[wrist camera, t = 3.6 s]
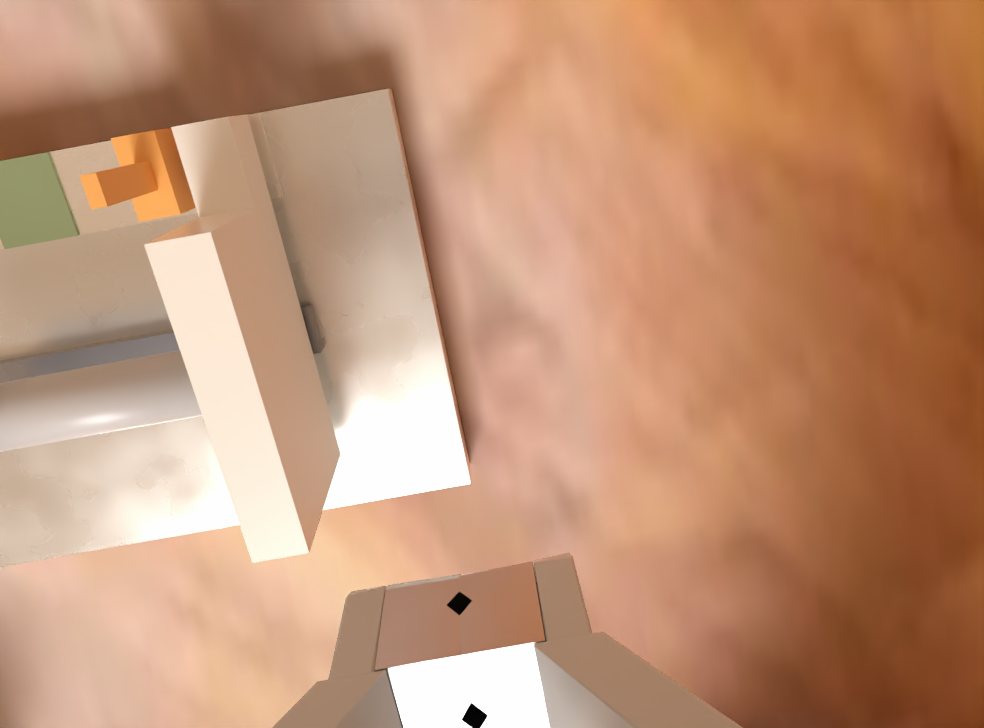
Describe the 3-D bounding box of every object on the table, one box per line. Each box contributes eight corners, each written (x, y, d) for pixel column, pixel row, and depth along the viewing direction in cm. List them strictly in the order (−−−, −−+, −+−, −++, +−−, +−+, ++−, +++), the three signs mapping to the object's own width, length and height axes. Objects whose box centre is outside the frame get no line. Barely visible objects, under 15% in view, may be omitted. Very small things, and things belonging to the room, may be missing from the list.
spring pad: (247, 114, 22) (176, 121, 17) (340, 453, 26) (309, 553, 21) (-104, 180, 22) (-292, 209, 17) (41, 507, 26) (-71, 620, 21)
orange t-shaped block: (184, 126, 22) (101, 136, 17) (207, 202, 23) (134, 234, 18) (145, 133, 22) (50, 146, 17) (169, 209, 23) (86, 243, 18)
